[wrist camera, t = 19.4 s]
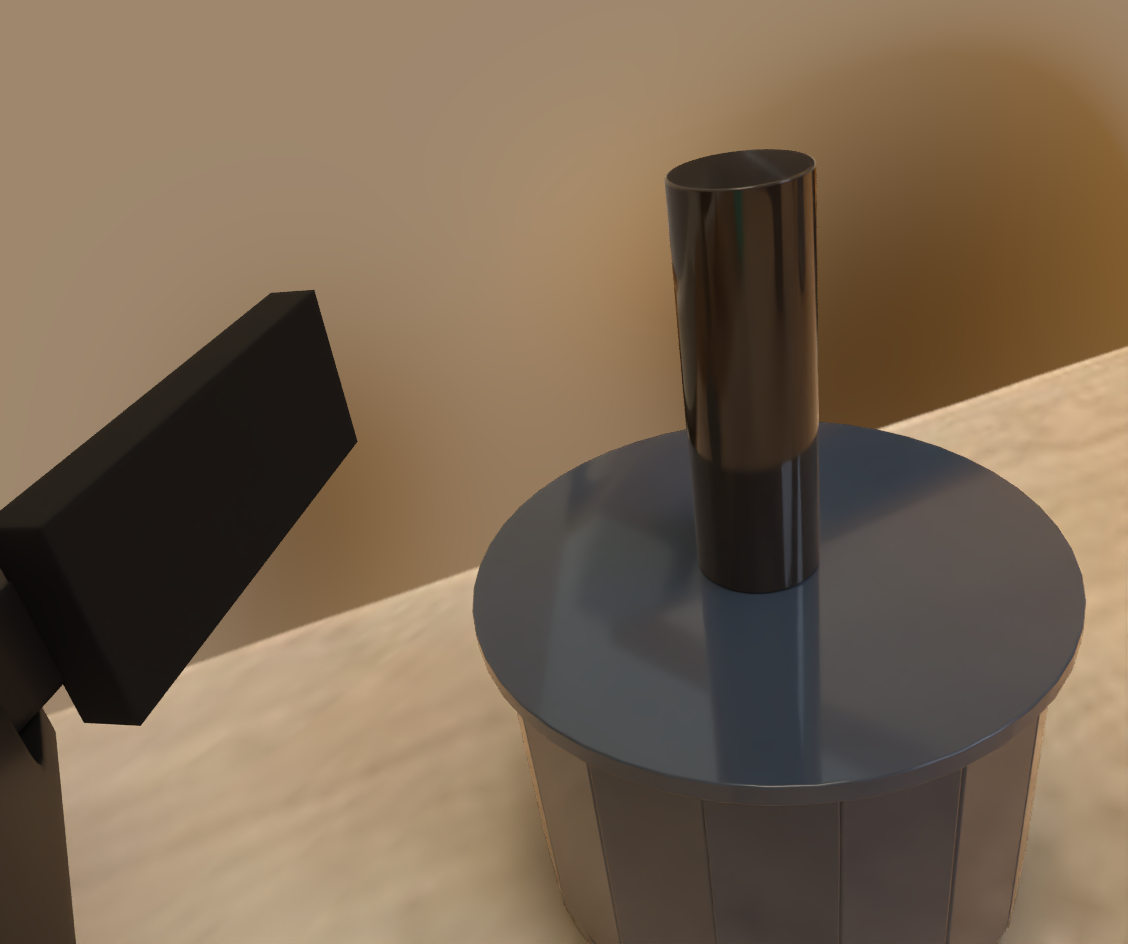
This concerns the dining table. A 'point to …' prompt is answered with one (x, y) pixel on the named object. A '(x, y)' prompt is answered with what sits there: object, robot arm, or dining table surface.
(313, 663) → the dining table surface
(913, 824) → the canister
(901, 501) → the lid
